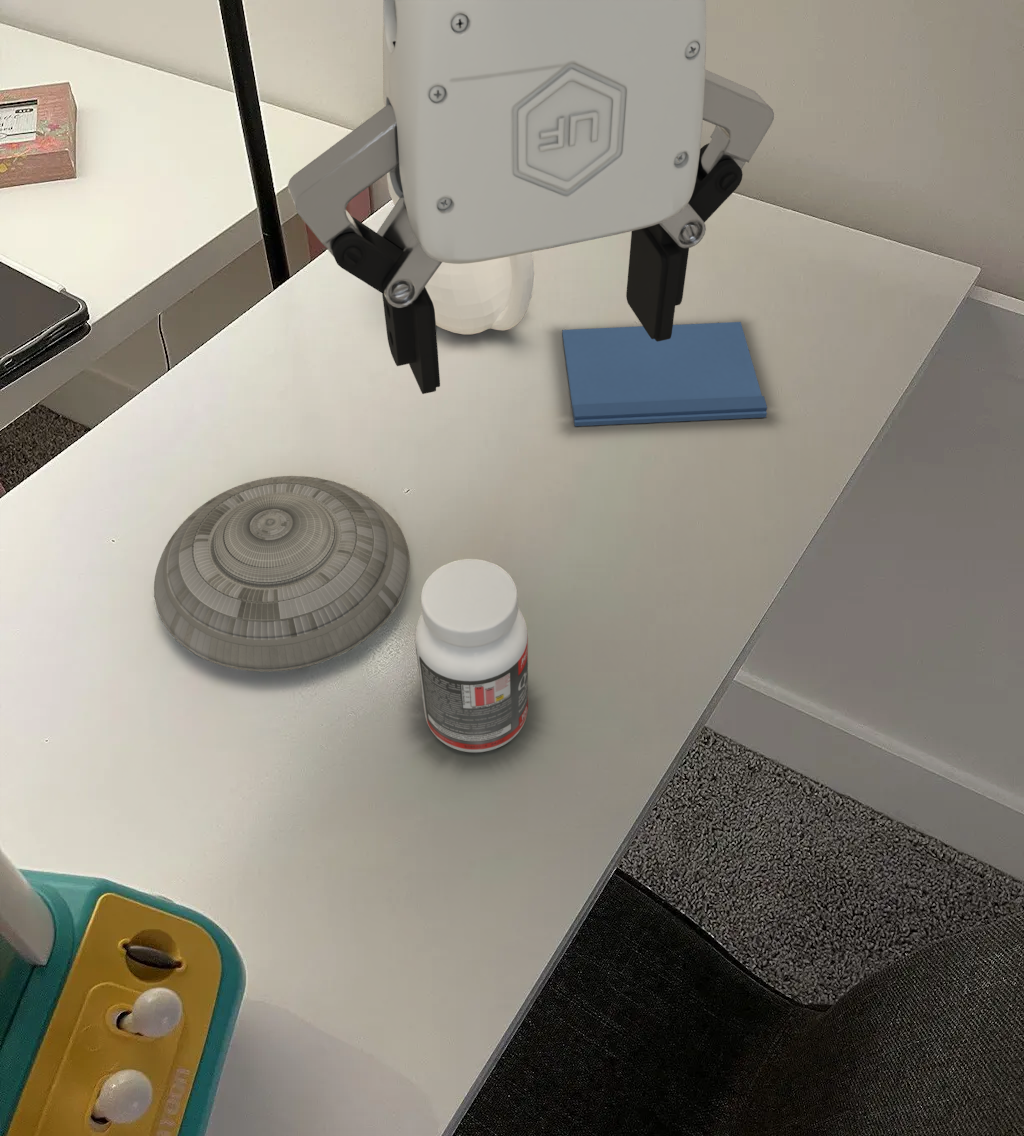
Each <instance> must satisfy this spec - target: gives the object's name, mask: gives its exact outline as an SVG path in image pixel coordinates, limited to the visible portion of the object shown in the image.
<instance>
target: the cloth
mask: <svg viewBox="0 0 1024 1136" xmlns="http://www.w3.org/2000/svg"><path fill="white" fill-rule="evenodd" d="M561 336H562V343H563V344H562V345H563V351H564V356H565V366H566V373H567V380H568V388H569V395H570V404H571V411H572V419H573V425H574V427H590V426H608V425H630V424H633V425H634V424H650V423H651V424H655V423H673V422H674V423H675V422H694V421H695V422H698V421H716V420H717V421H718V420H737V419H738V420H739V419H757V418H758V419H759V418H760V419H761V418H767V414H768V412H767V411H768V406H767V402H766V399H765V396H764V395H762V391H761V387H760V384H759V380H758V377H757V373H756V370H755V366H754V363H753V360H752V357H751V353H750V349H749V346H748V343H747V342H748V341H747V339H746V335H745V332H744V328H743V325H742V322H741V321H730V322H708V323H686V324H685V323H683V324H682V323H681V324H673V328H672V335H671V338H670V339H667V340H663V341H658V342H657V341H656V340H655V339H651V338H650V336H649V335H648V333H647V332H646V330H645V329H644V327H643V325H640V326H639V325H638V326H637V325H636V326H618V327H617V326H616V327H596V328H574V329H571V328H570V329H562V330H561Z"/></svg>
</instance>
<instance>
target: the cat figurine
mask: <svg viewBox="0 0 1024 1136" xmlns="http://www.w3.org/2000/svg"><path fill="white" fill-rule="evenodd" d="M386 182H387V190H388V193H389V196H390V198H391V200H392V203H393V205H394V206H395V204H396V203H397V201H398V200H399V197H398V196H397V195H396V193H395V191H394V189H393V186H392V183H391V178H390V174H389V172H388V173H387V174H386ZM534 278H535V269H534V258H533V252H529V253H524V254H519V255H514V256H509V257H504V258H498V259H493V260H487V261H482V262H475V263H466V264H452V263H445V262H442V263H441V265H440V266H439V267H438V269H437V270H436V272H435V273H434V274H433V276H432V277H431V279H430V280H429V281H428V283H427V284H426V286H425V288H426V290H427V292H428V294H429V296H430V298H431V300H432V303H433V306H434V310H435V321H436V327H438V328H440V329H443V330H445V331H448V332H451V333H455V334H459V335H476V334H480V333H482V332H485V331H487V330H491V329H492V330H495V331H507V330H510V329H513V328H514V327H516V326H517V325H518V324H519V323H520V322H521V321H522V320H523V318H524V317H525V316H526V313H527V311H528V308H529V305H530V302H531V299H532V295H533V289H534V283H535V281H534V280H535V279H534Z"/></svg>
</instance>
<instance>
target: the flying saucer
mask: <svg viewBox="0 0 1024 1136" xmlns="http://www.w3.org/2000/svg"><path fill="white" fill-rule="evenodd" d="M410 568H411V558H410V549H409V546H408V543H407V540H406V537H405V534H404V533H403V531H402V529H401V528H400V526H399V524H398V523H397V521H396V520H395V519H394V518H393V516H392V515H391V514H390V513H389V512H388V511H387V510H386V509H384V507H382V506H381V505H380V504H378V502H376V501H375V500H374V499H372V498H370V497H369V496H367V495H366V494H364V493H362V492H360V491H358V490H356V489H354V488H352V487H351V486H348V485H345V484H342V483H339V482H337V481H334V480H333V481H332V480H329V479H324V478H320V477H314V476H305V475H304V476H303V475H283V476H282V475H281V476H271V477H265V478H261V479H256V480H252V481H251V480H250V481H249V482H245V483H242V484H240V485H237V486H234V487H231V488H229V489H227V490H225V491H223V492H221V493H219V494H218V495H216V496H214V497H212V498H211V499H209V500H208V501H206V502H205V503H203V504H202V505H200V506H199V507H198V508H197V509H195V510H194V511H193V512H192V513H191V514H190V515H189V516H188V517H187V518H186V519H185V520H184V521H183V522H182V523H181V524H180V525H179V527H178V528H177V529H176V530H175V532H174V533H173V534H172V536H171V537H170V539H169V540H168V542H167V544H166V545H165V546H164V549H163V551H162V553H161V555H160V559H159V561H158V563H157V567H156V571H155V573H154V574H155V575H154V580H153V581H154V582H153V596H154V601H155V606H156V609H157V612H158V615H159V617H160V620H161V621H162V623H163V625H164V626H165V628H166V630H167V631H168V632H169V633H170V634H171V636H172V637H173V638H174V639H175V640H176V641H177V642H178V643H179V644H181V645H182V646H183V647H184V648H185V649H187V650H188V651H190V652H192V653H193V654H194V655H196V656H198V657H200V658H202V659H203V660H206V661H209V662H211V663H213V664H216V665H219V666H222V667H227V668H229V669H230V668H231V669H236V670H240V671H247V672H249V671H250V672H263V673H264V672H283V671H290V670H297V669H302V668H306V667H310V666H314V665H318V664H321V663H323V662H326V661H329V660H332V659H334V658H336V657H339V656H341V655H343V654H345V653H347V652H348V651H350V650H352V649H354V648H356V647H357V646H359V645H360V644H361V643H363V642H364V641H366V640H367V639H369V638H370V637H371V636H373V634H375V633H376V632H377V631H378V630H379V629H381V627H382V626H383V625H385V623H386V622H387V621H388V620H389V618H390V617H391V616H392V615H393V613H394V612H395V611H396V609H397V608H398V605H399V604H400V602H401V600H402V598H403V596H404V593H405V591H406V589H407V586H408V582H409V577H410V571H411V569H410Z"/></svg>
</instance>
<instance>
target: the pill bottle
mask: <svg viewBox="0 0 1024 1136" xmlns="http://www.w3.org/2000/svg"><path fill="white" fill-rule="evenodd" d="M420 603H421V614H420V616H419V618H418V621H417V622H416V625H415V626H416V627H415V634H414V641H415V643H414V644H415V653H416V658H417V666H418V673H419V682H420V689H421V690H420V691H421V698H422V707H423V712H424V717H425V722H426V724H427V726H428V728H429V729H430V731H431V732H432V734H433V735H434V736H435V738H437V739H438V740H439V741H440V742H441V743H443V744H444V745H446V746H447V747H450V748H451V749H454V750H457V751H460V752H466V753H484V752H485V753H486V752H490V751H493V750H496V749H499V748H501V747H503V746H505V745H506V744H508V743H509V742H511V741H512V740H513V739H514V738H515V737H516V736H517V735H518V734H519V733H520V732H521V730H523V729H522V728H523V727H524V725H525V724H526V723H525V722H526V720H527V716H528V713H529V712H528V711H529V669H528V668H529V655H528V654H529V635H528V634H529V633H528V626H527V622H526V619H525V617H524V615H523V613H522V612H521V611H522V610H520V607H519V598H518V588H517V586H516V583H515V581H514V579H513V578H512V577H511V575H510V574H509V572H507V571H506V569H504V568H503V567H501V566H499V565H497V564H496V563H493V562H491V561H488V560H484V559H478V558H463V559H457V560H453V561H450V562H448V563H445V564H444V565H442V566H440V567H438V568H437V569H435V570H434V571H433V572H432V573H431V574H430V575H429V576H428V578H426V581H425V582H424V584H423V586H422V589H421V593H420Z"/></svg>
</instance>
